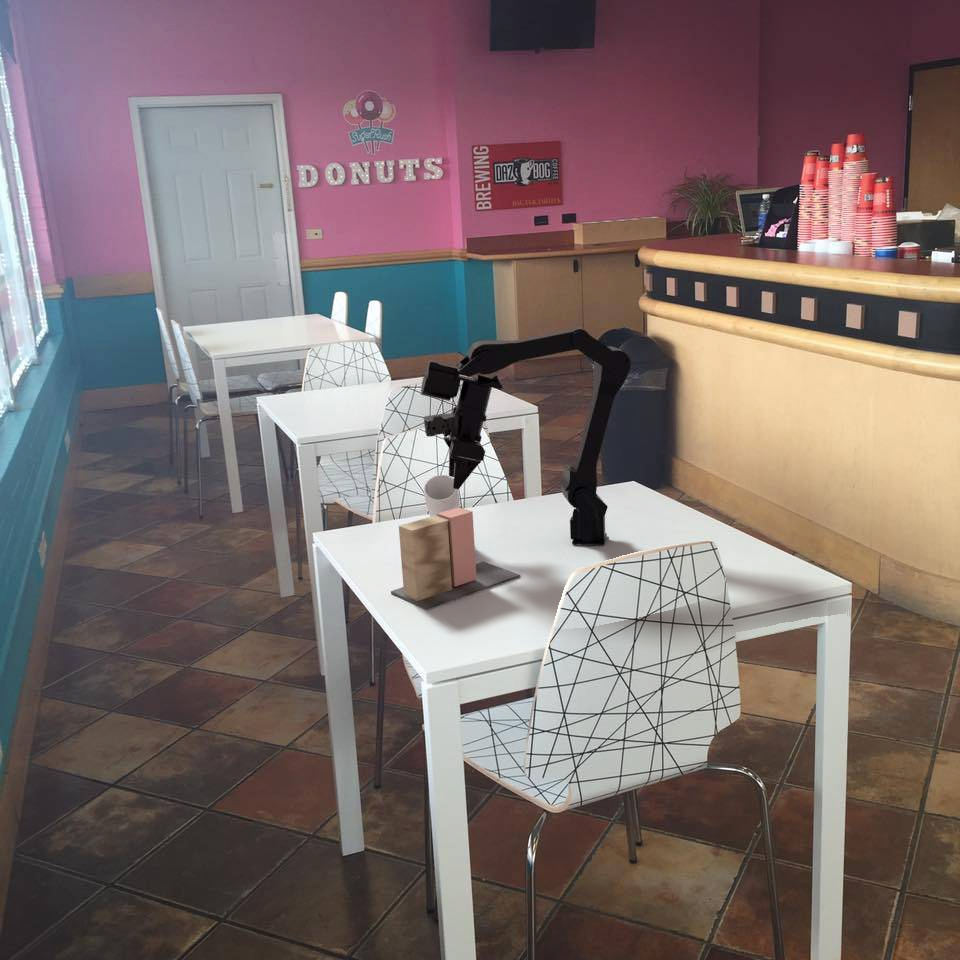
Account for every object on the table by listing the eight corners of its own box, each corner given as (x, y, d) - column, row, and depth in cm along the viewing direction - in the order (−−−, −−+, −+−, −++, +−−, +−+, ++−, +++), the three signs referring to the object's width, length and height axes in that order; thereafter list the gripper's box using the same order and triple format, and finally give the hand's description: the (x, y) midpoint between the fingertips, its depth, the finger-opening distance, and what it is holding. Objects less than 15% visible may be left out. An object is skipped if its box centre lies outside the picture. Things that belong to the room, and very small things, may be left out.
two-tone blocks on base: (483, 563, 199) (479, 496, 196) (520, 577, 191) (517, 507, 187) (390, 593, 186) (385, 522, 183) (426, 609, 178) (421, 535, 174)
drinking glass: (464, 519, 216) (457, 473, 204) (464, 545, 211) (457, 500, 200) (432, 520, 216) (423, 475, 205) (431, 547, 212) (422, 501, 200)
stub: (463, 574, 192) (458, 507, 188) (476, 579, 189) (472, 511, 185) (441, 581, 189) (437, 513, 185) (455, 586, 186) (450, 517, 182)
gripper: (427, 388, 206) (410, 462, 210) (435, 406, 189) (416, 487, 192) (481, 400, 208) (463, 473, 212) (493, 419, 190) (474, 498, 194)
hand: (453, 482), depth 202 cm, fingers open, 9 cm apart
